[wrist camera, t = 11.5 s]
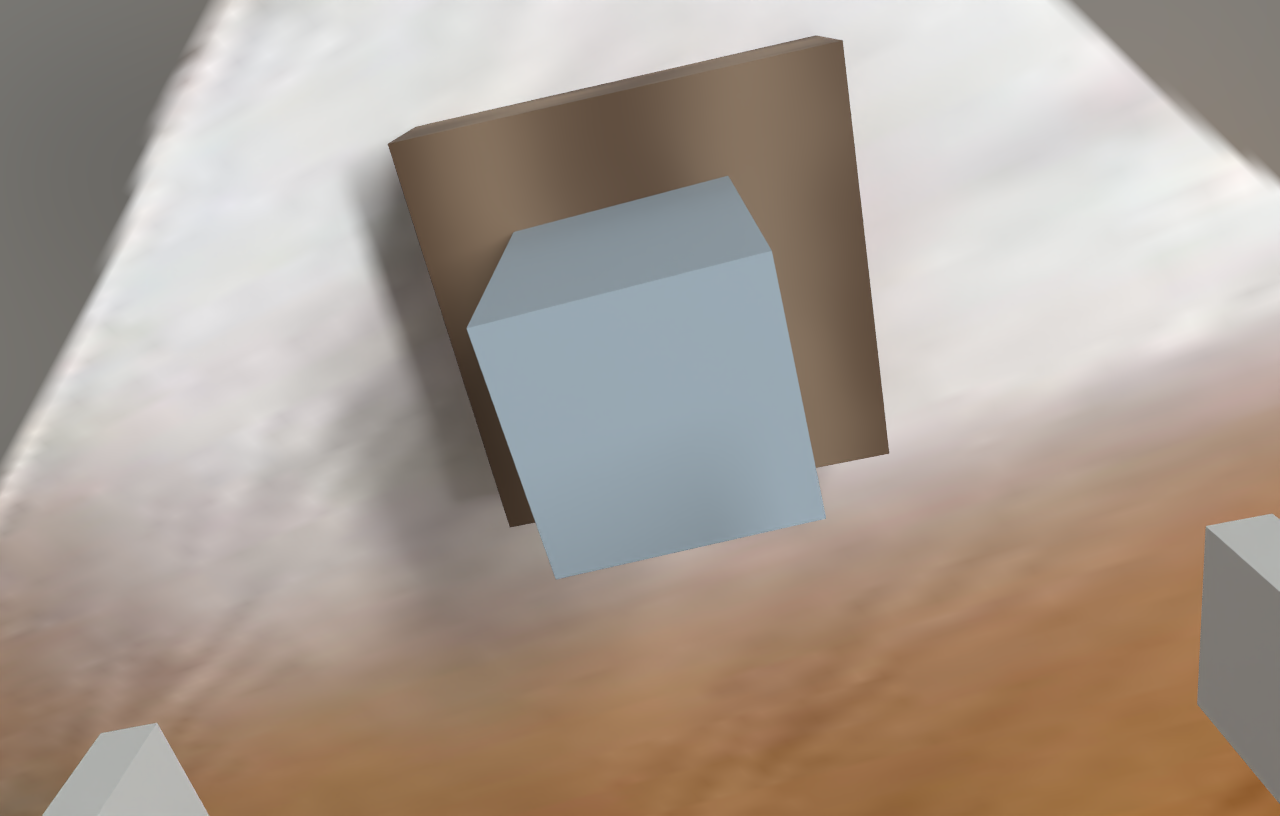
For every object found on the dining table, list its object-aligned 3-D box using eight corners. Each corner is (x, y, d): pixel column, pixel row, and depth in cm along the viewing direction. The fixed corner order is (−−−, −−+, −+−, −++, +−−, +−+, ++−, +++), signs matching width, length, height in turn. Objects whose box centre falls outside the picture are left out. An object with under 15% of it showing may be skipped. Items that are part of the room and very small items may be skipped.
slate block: (574, 424, 27) (555, 579, 20) (513, 231, 25) (466, 328, 18) (771, 376, 27) (825, 518, 19) (728, 176, 24) (771, 250, 17)
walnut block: (522, 467, 32) (510, 527, 29) (419, 125, 27) (387, 144, 24) (858, 401, 31) (889, 453, 28) (812, 35, 27) (842, 40, 23)
